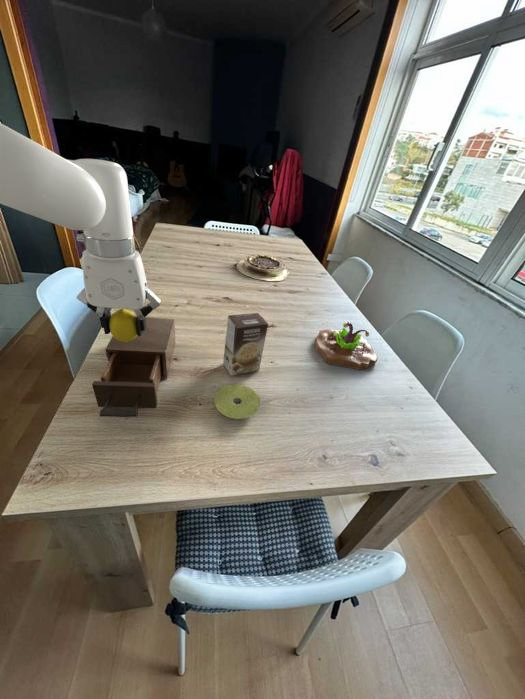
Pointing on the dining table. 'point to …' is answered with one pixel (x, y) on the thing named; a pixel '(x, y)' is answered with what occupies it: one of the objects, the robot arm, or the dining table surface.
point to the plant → (345, 348)
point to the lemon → (123, 325)
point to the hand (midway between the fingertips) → (125, 330)
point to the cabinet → (150, 342)
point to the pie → (263, 267)
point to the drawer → (128, 384)
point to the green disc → (237, 401)
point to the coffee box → (244, 343)
